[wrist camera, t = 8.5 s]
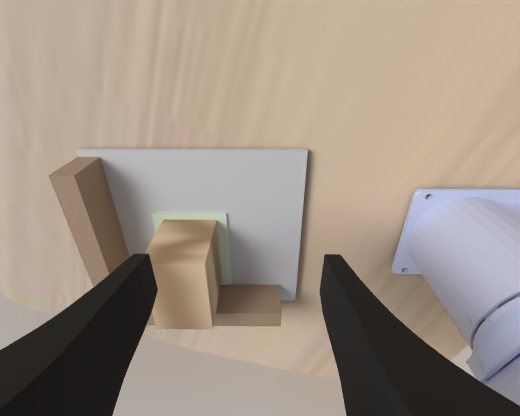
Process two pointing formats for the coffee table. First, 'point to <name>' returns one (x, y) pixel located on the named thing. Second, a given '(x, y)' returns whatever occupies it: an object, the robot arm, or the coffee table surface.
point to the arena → (194, 216)
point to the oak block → (185, 274)
